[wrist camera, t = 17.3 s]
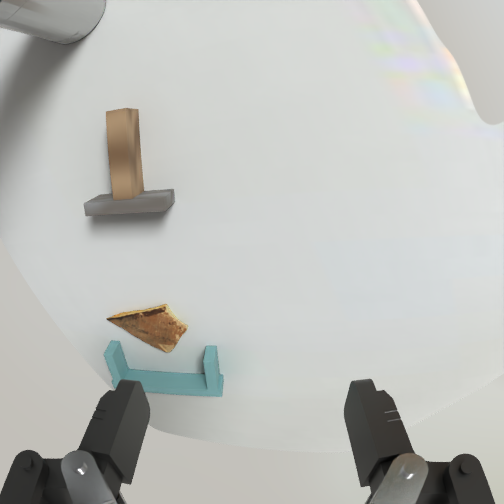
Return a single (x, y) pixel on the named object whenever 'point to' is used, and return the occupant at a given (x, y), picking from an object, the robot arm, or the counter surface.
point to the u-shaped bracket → (168, 375)
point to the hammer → (127, 171)
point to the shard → (152, 326)
